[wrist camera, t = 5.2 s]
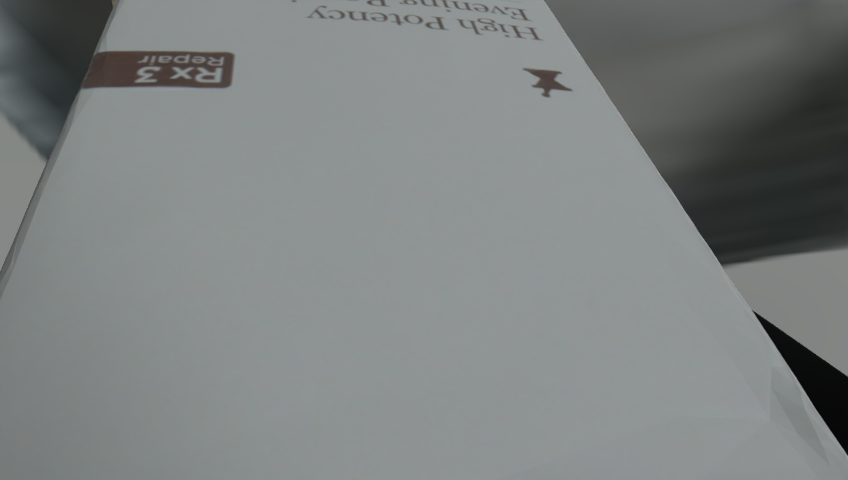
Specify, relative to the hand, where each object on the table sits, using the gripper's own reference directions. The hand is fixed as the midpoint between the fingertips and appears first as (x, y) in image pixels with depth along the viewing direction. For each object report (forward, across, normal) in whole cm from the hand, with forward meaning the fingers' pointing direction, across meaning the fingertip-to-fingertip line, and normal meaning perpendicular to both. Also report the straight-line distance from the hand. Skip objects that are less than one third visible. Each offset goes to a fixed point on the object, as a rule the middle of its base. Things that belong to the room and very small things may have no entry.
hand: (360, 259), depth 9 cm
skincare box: (+6, 0, 0) cm, 6 cm away
